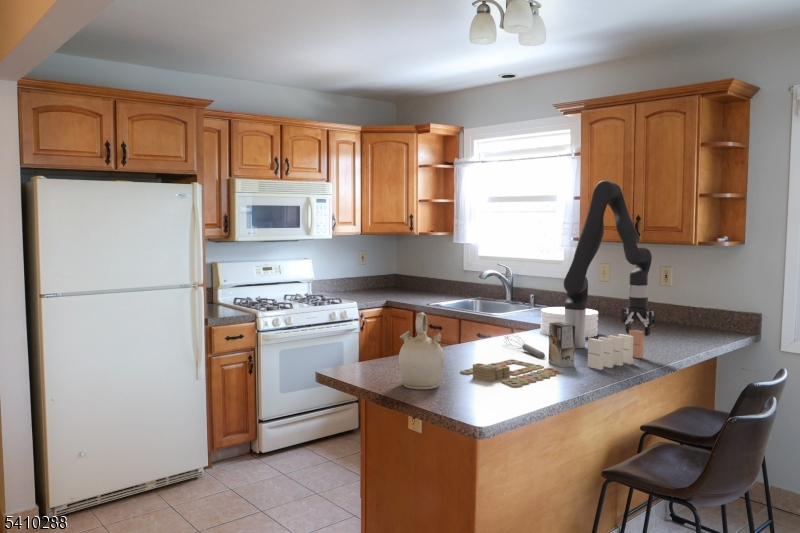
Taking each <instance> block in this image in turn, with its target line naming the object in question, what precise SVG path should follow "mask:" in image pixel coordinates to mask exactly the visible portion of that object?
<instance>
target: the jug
mask: <svg viewBox="0 0 800 533" xmlns="http://www.w3.org/2000/svg"><path fill="white" fill-rule="evenodd" d="M415 330H416V334H417V335H416V336H414V337H412V336H411V334H410V331H409V330H407V331H405V332H404V333H403V334H401V335H400V336H399V338H400V339H401V340H402V341H404V342H403V344H402V346H401V348H400V350H399V353H398V365H399V371H400V375H401V380H402V384H403V386H404V388H407V389H411V390H416V391H417V390H422V391H423V390H434V389H437V388H439V386H440V384H441V383H440V382H441V380H442V376H443V371H444V370H443V369H444V365H445V355H444V351H443V348H442V346H441V345H440V344H439V343H440V342H441V337H442V335H441V333H437V334H435V335H433V337H429V336H428V335H427V333H428V316H427V315H426V313H425V312H421V311H420V312H418V313H417V314H416V316H415Z"/></svg>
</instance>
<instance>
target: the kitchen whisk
mask: <svg viewBox="0 0 800 533" xmlns="http://www.w3.org/2000/svg"><path fill="white" fill-rule="evenodd" d="M513 334H514V335H515V336H514V335H512V332H511V333H508V336H503V337H504V340H505V339H506V340H505V341H508V342H509V343H507V342H505V345H508V346H509V345H510V346H512V347H514V345H513V344H512V343H513V342H514V343H516V344H518V345H520V346H521V347H519V346H517V345H515V348H516V347H517V350H520V349H521V350H524V351H526V352H527V353H529V354H531V355H533V356H535V357H537V358H539V359H541V358H543V359H544V360H546V359H547V358H546V357H547V356H546V354H545V353H544V352H543V351H540V350H539V349H537V348H535V347H533V346H532V345H530V344H527V343H525V341H524V340H522V337H520V336H519V335H518V334H516V333H515V332H514V333H513ZM510 335H511V336H510ZM509 337H514V338H516V340H518V339H519V340H521V341H522V342H521V341H520V342H518V341H516V340H514V339H512V338H509ZM509 340H510V341H512V343H511V342H510V341H509Z"/></svg>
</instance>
